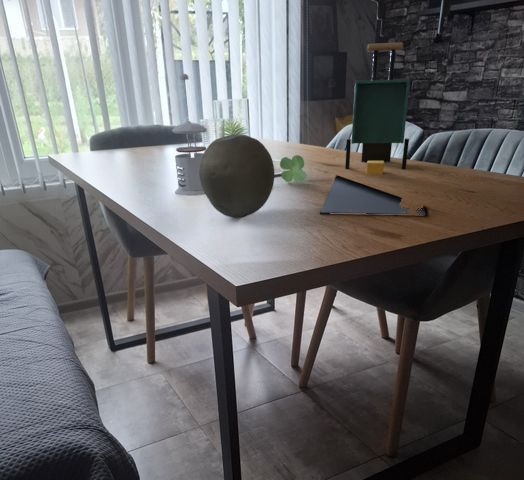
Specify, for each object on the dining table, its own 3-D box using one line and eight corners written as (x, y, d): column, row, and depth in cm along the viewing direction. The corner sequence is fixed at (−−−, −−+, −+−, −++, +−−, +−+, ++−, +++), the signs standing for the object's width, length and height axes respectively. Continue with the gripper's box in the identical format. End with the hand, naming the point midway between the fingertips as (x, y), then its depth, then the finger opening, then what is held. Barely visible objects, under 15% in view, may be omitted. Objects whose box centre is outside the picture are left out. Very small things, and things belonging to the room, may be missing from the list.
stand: (348, 167, 141) (349, 133, 137) (403, 167, 138) (406, 133, 134) (344, 175, 130) (346, 139, 125) (404, 176, 127) (409, 139, 122)
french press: (173, 196, 114) (159, 74, 102) (176, 186, 124) (163, 74, 112) (215, 193, 115) (206, 72, 102) (214, 184, 125) (206, 73, 112)
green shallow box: (358, 46, 118) (357, 43, 114) (412, 43, 115) (413, 40, 111) (352, 143, 127) (351, 143, 123) (402, 143, 124) (403, 143, 120)
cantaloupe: (198, 213, 99) (191, 133, 91) (265, 207, 102) (263, 129, 94) (209, 231, 87) (201, 141, 79) (284, 224, 90) (283, 136, 82)
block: (366, 179, 122) (366, 176, 125) (382, 180, 121) (382, 177, 125) (367, 163, 120) (367, 160, 123) (383, 163, 119) (383, 160, 123)
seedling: (294, 198, 130) (294, 189, 124) (274, 177, 131) (272, 168, 124) (313, 178, 130) (314, 169, 123) (292, 158, 131) (292, 147, 124)
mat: (336, 176, 129) (336, 175, 129) (414, 177, 125) (414, 175, 125) (319, 214, 95) (319, 212, 95) (425, 216, 91) (425, 214, 91)
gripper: (479, -81, 108) (462, 33, 118) (365, -71, 112) (358, 37, 123) (486, -90, 101) (467, 30, 112) (365, -80, 106) (358, 36, 116)
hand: (410, 34), depth 117 cm, fingers open, 13 cm apart
